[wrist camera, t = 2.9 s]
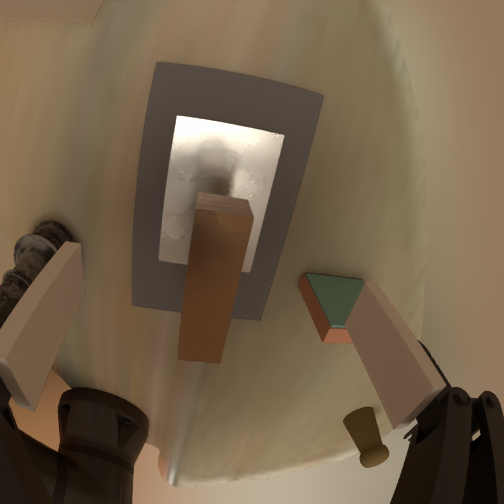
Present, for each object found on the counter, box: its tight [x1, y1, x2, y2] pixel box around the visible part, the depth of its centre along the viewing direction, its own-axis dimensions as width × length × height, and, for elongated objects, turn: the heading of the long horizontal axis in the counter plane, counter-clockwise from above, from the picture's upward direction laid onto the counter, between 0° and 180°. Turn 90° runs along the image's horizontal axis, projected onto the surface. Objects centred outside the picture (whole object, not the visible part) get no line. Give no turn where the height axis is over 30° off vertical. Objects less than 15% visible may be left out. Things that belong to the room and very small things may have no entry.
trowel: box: [158, 115, 285, 363], centre depth 20 cm, size 15×8×9 cm, turn 167°
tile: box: [298, 273, 365, 343], centre depth 26 cm, size 7×2×8 cm, turn 77°
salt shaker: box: [0, 221, 76, 309], centre depth 19 cm, size 6×6×12 cm
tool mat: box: [132, 62, 324, 320], centre depth 24 cm, size 13×22×1 cm, turn 167°
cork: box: [343, 407, 389, 468], centre depth 41 cm, size 6×6×11 cm
